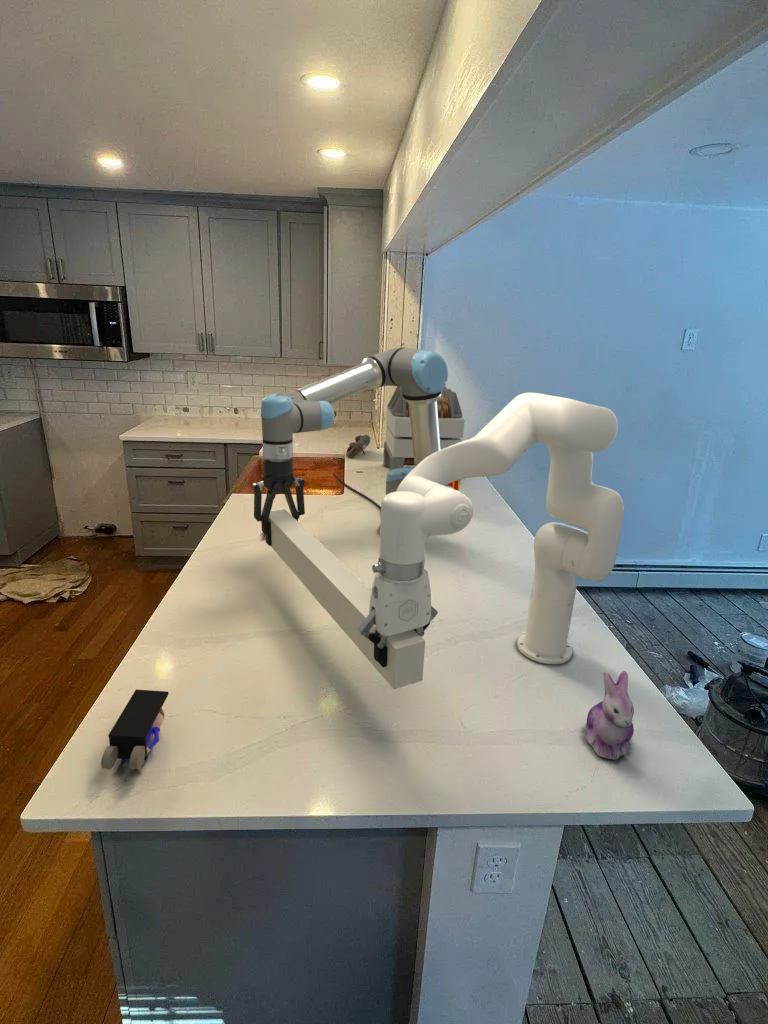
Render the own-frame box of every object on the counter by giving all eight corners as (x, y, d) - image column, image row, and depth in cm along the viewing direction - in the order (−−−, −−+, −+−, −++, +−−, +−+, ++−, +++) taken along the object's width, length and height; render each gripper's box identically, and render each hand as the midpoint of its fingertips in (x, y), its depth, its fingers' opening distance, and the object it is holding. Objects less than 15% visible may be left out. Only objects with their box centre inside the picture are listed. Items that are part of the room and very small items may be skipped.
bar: (265, 540, 154) (264, 512, 152) (285, 536, 157) (284, 509, 154) (393, 689, 96) (395, 649, 94) (422, 680, 99) (425, 640, 96)
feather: (281, 515, 215) (284, 511, 215) (262, 541, 189) (264, 536, 188) (277, 512, 215) (280, 508, 215) (257, 538, 189) (260, 534, 188)
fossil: (346, 440, 314) (367, 425, 309) (357, 454, 317) (378, 439, 312) (340, 454, 295) (362, 438, 290) (351, 468, 298) (374, 453, 293)
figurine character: (145, 787, 93) (174, 717, 107) (138, 755, 90) (169, 687, 103) (104, 787, 93) (138, 716, 107) (95, 754, 90) (132, 686, 103)
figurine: (612, 770, 99) (628, 699, 94) (570, 732, 108) (582, 666, 103) (649, 753, 104) (666, 685, 99) (605, 718, 112) (619, 654, 107)
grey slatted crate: (382, 463, 289) (386, 382, 275) (445, 464, 293) (451, 384, 279) (390, 482, 257) (394, 392, 243) (460, 483, 261) (468, 394, 247)
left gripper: (245, 465, 137) (249, 553, 145) (318, 458, 145) (318, 541, 153) (237, 458, 143) (241, 542, 151) (307, 451, 152) (308, 531, 160)
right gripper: (365, 585, 87) (363, 683, 93) (457, 565, 95) (449, 656, 101) (344, 566, 93) (343, 659, 99) (432, 548, 101) (426, 635, 107)
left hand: (280, 541), depth 152 cm, fingers closed on bar, 6 cm apart
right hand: (397, 657), depth 100 cm, fingers closed on bar, 5 cm apart
